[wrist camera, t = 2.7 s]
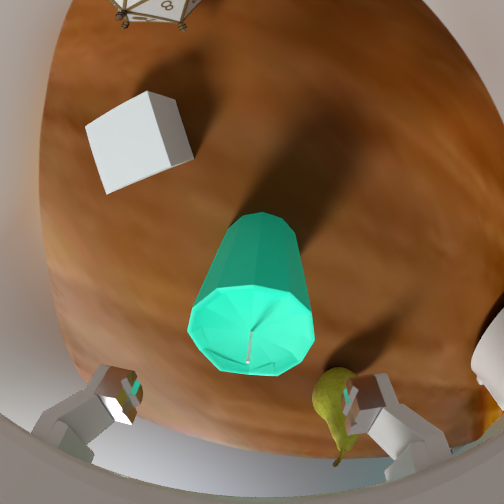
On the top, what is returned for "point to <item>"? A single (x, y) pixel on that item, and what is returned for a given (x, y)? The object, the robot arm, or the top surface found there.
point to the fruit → (334, 406)
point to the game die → (154, 11)
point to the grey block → (138, 140)
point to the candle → (254, 300)
